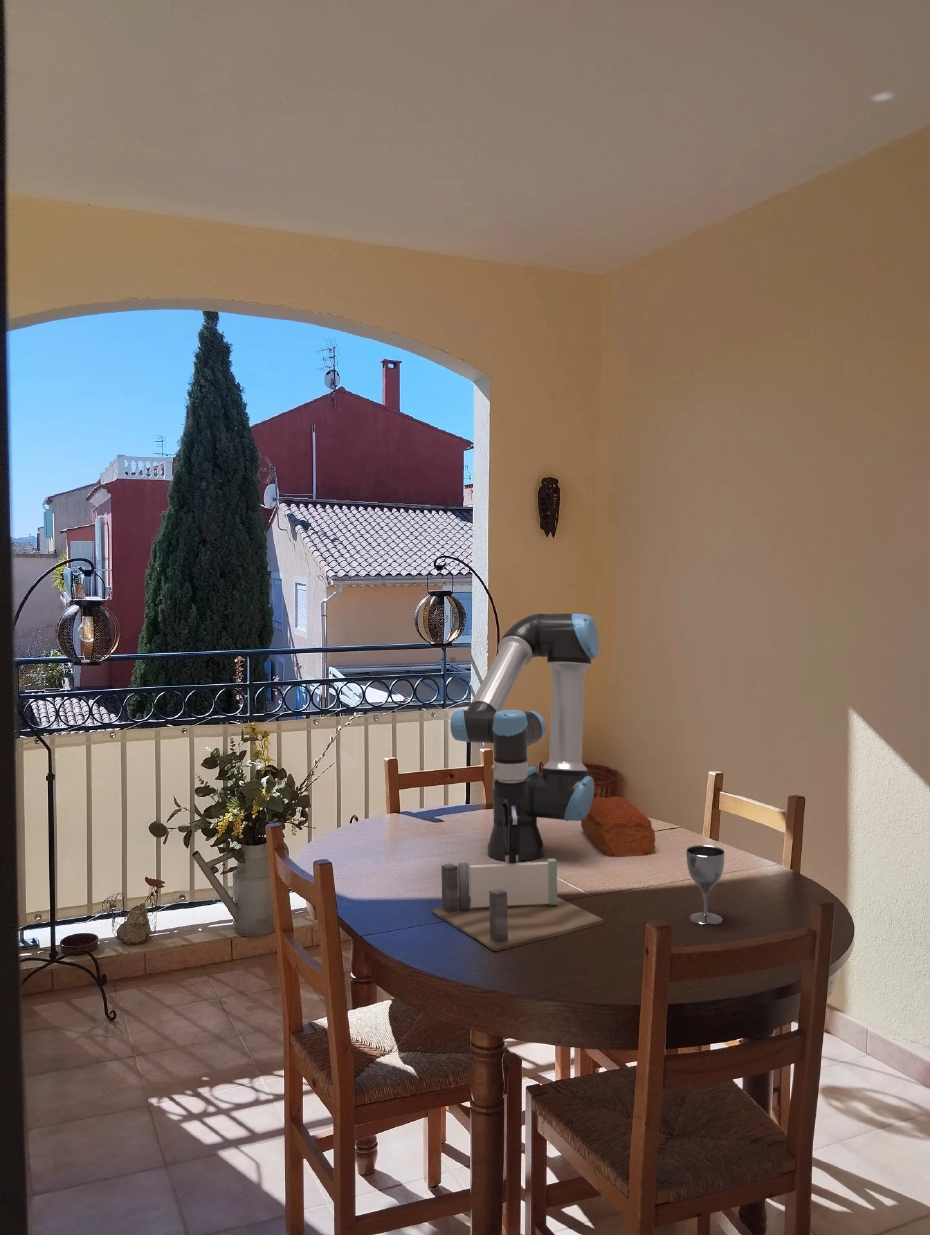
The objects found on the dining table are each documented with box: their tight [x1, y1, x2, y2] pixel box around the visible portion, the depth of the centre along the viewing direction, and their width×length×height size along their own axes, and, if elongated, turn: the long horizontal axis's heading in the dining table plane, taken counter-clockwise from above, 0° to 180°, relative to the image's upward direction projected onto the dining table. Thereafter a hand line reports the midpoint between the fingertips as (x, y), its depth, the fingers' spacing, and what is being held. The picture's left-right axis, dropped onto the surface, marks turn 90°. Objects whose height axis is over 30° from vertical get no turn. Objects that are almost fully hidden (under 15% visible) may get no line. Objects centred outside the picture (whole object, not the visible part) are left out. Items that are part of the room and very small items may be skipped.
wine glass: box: [686, 844, 725, 925], centre depth 206 cm, size 8×8×15 cm
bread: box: [580, 796, 656, 858], centre depth 264 cm, size 16×27×11 cm, turn 7°
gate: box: [457, 858, 558, 911], centre depth 213 cm, size 22×2×10 cm, turn 95°
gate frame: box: [431, 862, 605, 952], centre depth 209 cm, size 26×28×11 cm
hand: (512, 881), depth 216 cm, fingers closed
